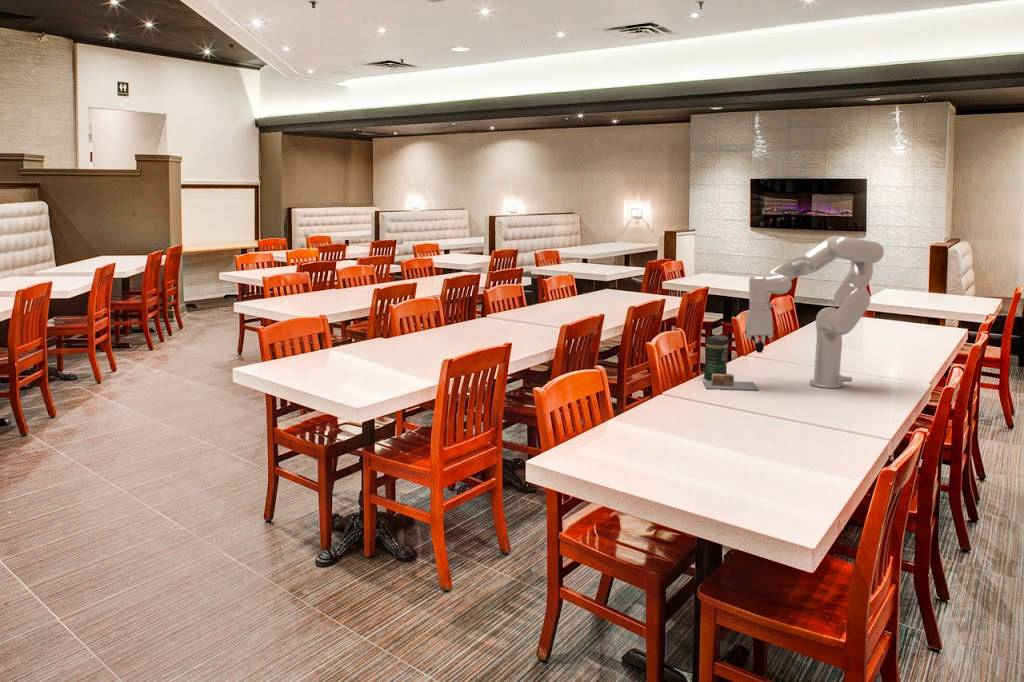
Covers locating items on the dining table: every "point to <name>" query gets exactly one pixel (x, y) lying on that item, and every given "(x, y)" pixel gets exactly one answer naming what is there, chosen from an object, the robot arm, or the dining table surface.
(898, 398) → the dining table surface
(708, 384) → the rubber mat
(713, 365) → the coffee jar
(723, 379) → the walnut block
